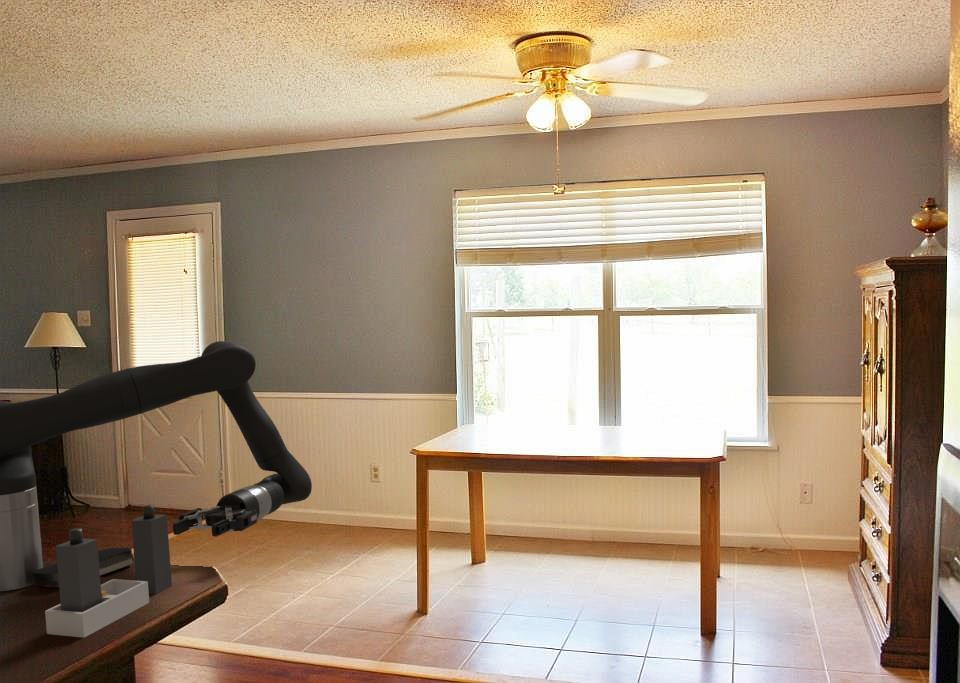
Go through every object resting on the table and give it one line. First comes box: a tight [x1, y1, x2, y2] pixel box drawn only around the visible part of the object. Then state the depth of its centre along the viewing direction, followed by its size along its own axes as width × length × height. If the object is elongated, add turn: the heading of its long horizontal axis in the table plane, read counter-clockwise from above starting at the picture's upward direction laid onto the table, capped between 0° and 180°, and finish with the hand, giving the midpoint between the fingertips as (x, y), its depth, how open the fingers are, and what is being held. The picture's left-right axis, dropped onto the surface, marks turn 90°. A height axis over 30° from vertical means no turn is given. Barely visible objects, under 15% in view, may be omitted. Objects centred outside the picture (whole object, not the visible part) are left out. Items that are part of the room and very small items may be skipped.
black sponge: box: [32, 547, 134, 588], centre depth 152 cm, size 16×8×4 cm, turn 150°
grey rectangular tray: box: [44, 578, 150, 639], centre depth 129 cm, size 14×7×5 cm, turn 162°
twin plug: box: [55, 527, 102, 612], centre depth 125 cm, size 4×4×15 cm
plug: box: [131, 504, 173, 595], centre depth 141 cm, size 4×4×15 cm
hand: (193, 530), depth 151 cm, fingers open, 8 cm apart
